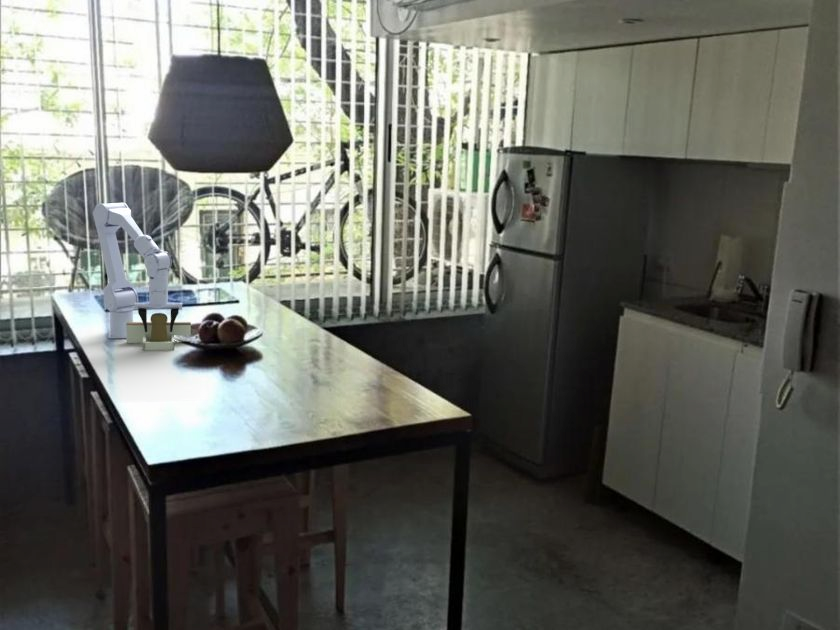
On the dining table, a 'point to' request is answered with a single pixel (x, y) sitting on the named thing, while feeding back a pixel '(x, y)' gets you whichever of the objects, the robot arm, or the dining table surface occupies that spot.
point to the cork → (159, 328)
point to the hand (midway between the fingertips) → (158, 331)
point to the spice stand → (140, 336)
